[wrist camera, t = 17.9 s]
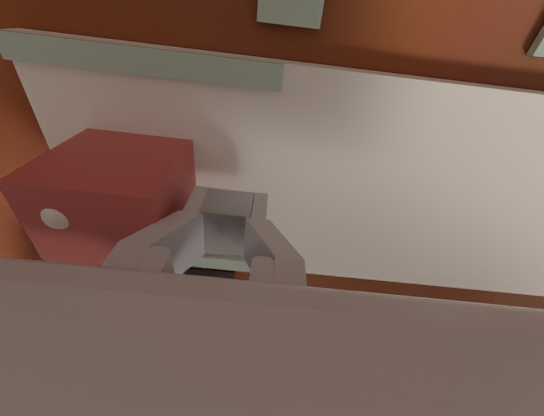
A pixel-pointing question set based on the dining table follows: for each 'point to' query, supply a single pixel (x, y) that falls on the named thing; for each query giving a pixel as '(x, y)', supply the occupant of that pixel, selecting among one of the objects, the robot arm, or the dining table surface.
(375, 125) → the board
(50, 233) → the red die
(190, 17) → the dining table surface
